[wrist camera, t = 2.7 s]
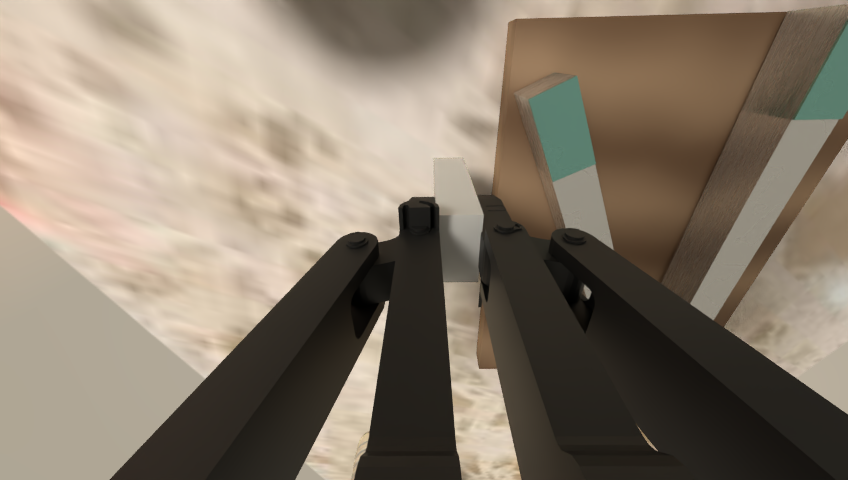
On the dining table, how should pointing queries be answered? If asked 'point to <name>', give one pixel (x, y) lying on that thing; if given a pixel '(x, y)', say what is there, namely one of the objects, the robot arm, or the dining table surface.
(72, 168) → the dining table surface
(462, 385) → the dining table surface
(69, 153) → the dining table surface
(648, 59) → the board
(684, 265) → the tongs fixed
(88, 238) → the dining table surface
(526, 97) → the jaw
